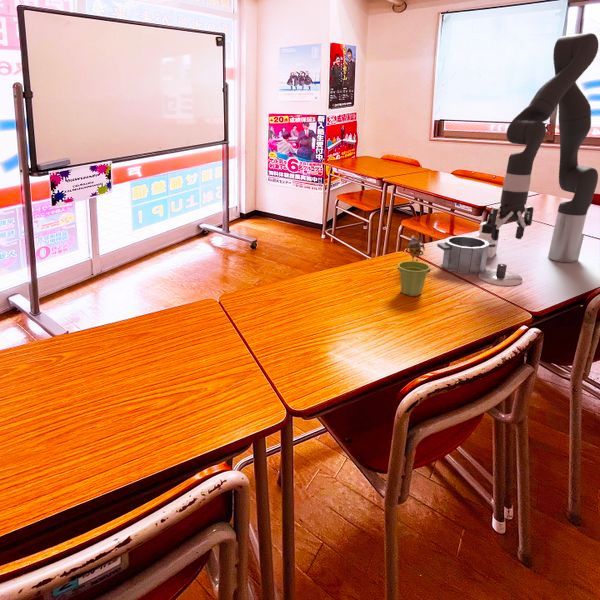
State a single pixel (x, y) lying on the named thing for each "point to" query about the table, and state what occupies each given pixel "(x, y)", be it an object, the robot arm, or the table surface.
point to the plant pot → (412, 277)
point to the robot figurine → (415, 248)
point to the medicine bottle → (487, 238)
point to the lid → (500, 276)
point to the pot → (465, 254)
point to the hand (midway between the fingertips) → (506, 239)
